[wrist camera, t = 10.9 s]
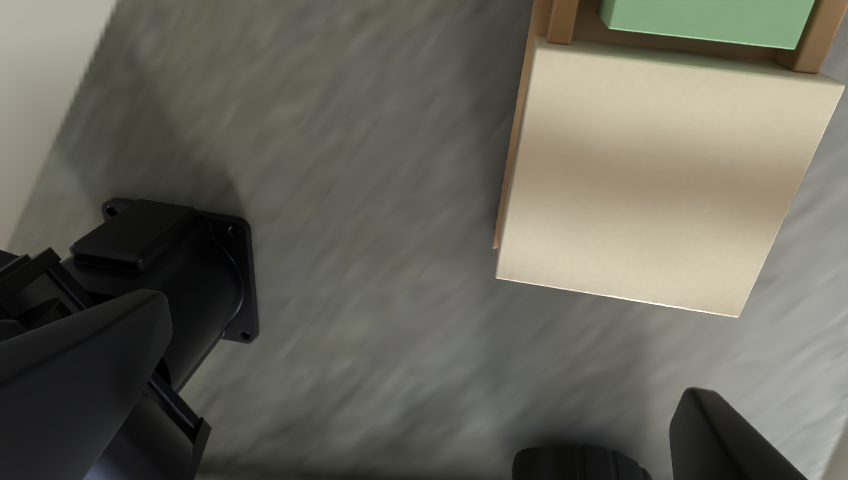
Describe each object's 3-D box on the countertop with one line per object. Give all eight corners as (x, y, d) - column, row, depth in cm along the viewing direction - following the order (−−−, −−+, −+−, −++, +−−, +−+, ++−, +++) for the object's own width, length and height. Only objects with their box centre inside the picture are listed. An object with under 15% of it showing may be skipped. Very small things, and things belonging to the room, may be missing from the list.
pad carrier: (715, 273, 21) (743, 324, 18) (493, 238, 22) (487, 282, 19) (952, -301, 13) (1067, -366, 10) (587, -319, 14) (601, -382, 11)
